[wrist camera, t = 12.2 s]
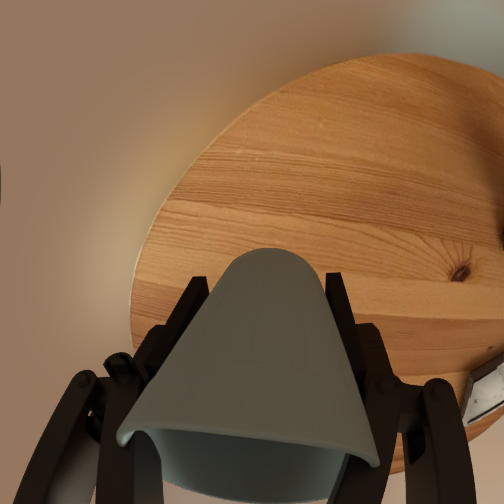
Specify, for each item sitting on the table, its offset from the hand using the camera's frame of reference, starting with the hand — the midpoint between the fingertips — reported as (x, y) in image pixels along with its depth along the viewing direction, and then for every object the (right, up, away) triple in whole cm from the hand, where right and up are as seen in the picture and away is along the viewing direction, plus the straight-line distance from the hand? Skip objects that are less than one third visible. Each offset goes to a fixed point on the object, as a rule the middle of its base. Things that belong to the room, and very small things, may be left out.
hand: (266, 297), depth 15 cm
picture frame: (+38, -19, +11) cm, 44 cm away
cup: (0, 0, +1) cm, 1 cm away
